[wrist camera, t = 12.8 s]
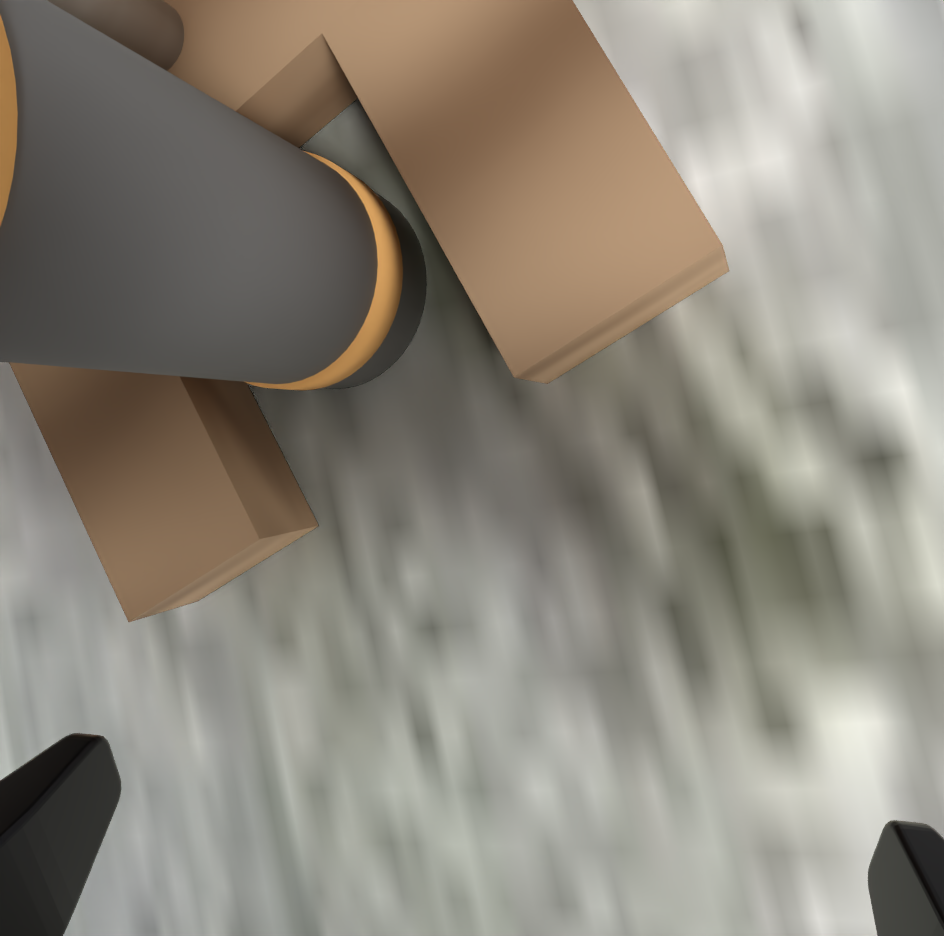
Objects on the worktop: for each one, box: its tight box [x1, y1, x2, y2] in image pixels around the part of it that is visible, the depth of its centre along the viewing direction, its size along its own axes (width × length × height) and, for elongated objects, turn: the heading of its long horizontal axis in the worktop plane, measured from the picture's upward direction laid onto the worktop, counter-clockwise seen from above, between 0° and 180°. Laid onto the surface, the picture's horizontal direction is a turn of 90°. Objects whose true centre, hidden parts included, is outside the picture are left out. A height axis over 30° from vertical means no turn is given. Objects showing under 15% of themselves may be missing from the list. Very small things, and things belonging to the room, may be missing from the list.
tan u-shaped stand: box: [9, 0, 729, 622], centre depth 14 cm, size 15×16×12 cm
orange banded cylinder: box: [0, 0, 427, 391], centre depth 14 cm, size 5×5×13 cm
